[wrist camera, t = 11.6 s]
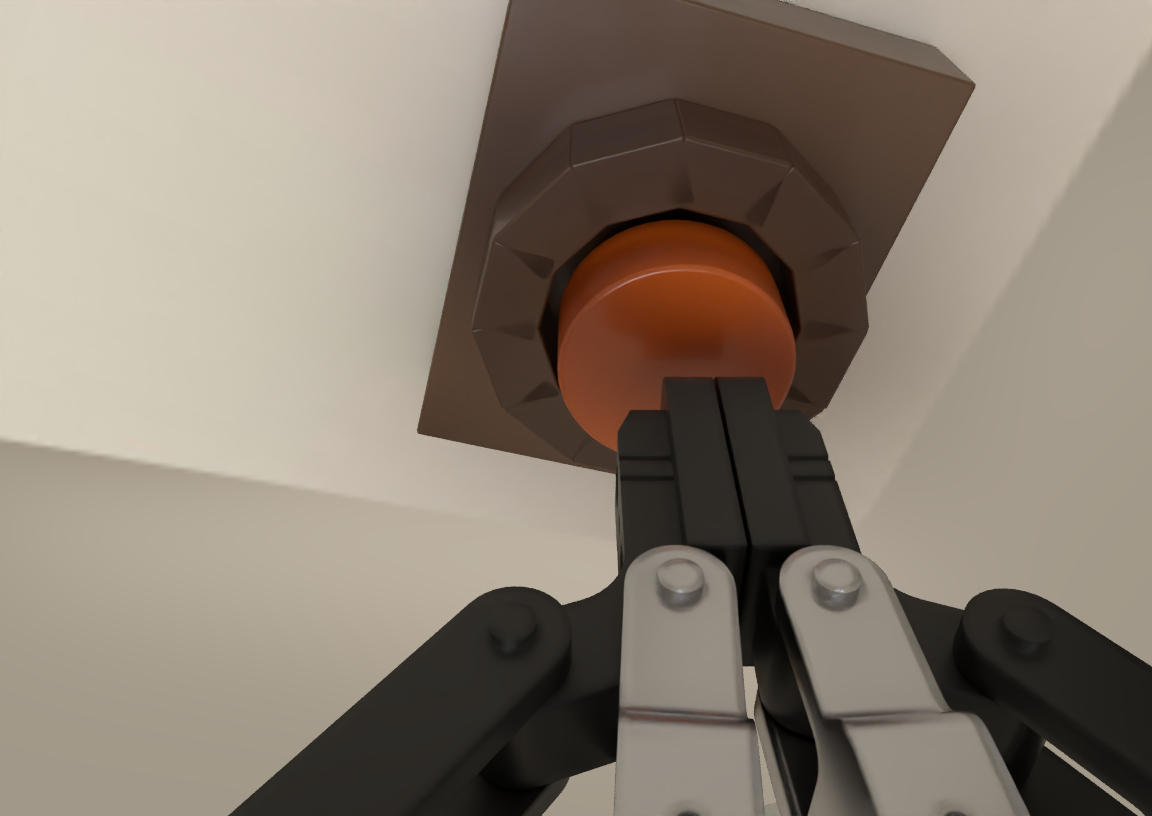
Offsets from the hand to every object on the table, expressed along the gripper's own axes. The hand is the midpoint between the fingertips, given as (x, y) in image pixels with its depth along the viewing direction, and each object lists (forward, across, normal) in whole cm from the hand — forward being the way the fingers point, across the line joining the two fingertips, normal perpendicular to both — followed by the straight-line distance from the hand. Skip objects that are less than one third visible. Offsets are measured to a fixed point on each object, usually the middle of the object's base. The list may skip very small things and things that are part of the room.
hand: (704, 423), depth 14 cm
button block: (+7, 0, 0) cm, 7 cm away
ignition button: (+3, 0, 0) cm, 3 cm away
